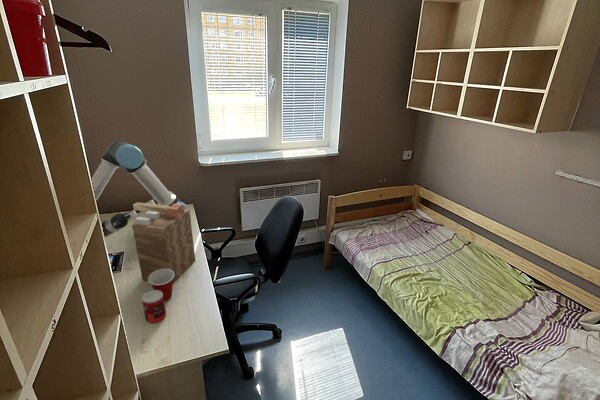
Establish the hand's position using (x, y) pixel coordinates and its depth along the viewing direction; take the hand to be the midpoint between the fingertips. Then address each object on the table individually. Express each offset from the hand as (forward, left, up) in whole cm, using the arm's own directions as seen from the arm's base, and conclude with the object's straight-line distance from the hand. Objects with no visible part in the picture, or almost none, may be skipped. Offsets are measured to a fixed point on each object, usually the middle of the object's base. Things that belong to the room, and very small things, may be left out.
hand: (144, 207), depth 162 cm
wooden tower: (+4, +12, -32) cm, 34 cm away
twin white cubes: (+9, +8, -2) cm, 13 cm away
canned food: (+36, +26, -32) cm, 55 cm away
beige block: (-1, +7, -2) cm, 7 cm away
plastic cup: (+24, +22, -32) cm, 46 cm away
